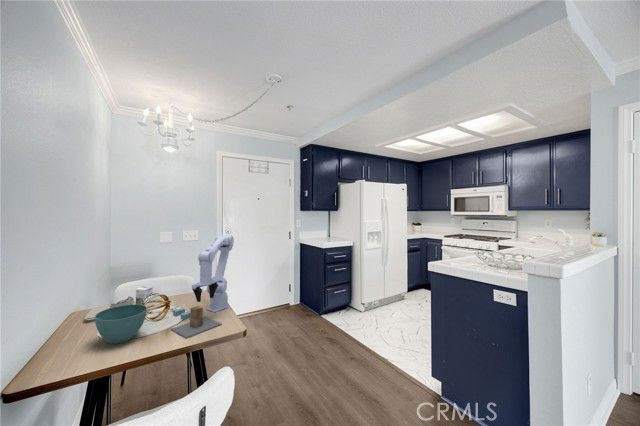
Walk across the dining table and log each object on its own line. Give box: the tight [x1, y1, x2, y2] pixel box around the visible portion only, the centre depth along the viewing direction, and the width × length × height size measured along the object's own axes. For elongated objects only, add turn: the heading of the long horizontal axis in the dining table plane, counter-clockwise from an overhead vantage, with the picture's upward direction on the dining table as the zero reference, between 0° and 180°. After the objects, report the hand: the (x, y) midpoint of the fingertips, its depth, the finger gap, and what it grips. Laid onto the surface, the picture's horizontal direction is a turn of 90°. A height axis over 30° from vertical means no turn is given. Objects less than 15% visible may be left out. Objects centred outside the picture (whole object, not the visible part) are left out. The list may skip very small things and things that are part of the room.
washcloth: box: [82, 305, 110, 324], centre depth 138 cm, size 12×18×3 cm, turn 33°
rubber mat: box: [170, 316, 222, 339], centre depth 126 cm, size 18×14×1 cm
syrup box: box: [135, 285, 154, 305], centre depth 142 cm, size 6×6×14 cm
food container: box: [109, 296, 135, 308], centre depth 134 cm, size 12×6×10 cm, turn 179°
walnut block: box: [189, 305, 204, 328], centre depth 126 cm, size 4×4×9 cm
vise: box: [169, 306, 190, 321], centre depth 141 cm, size 5×17×2 cm, turn 56°
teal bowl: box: [94, 303, 147, 345], centre depth 113 cm, size 18×18×12 cm
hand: (205, 299), depth 136 cm, fingers open, 7 cm apart
